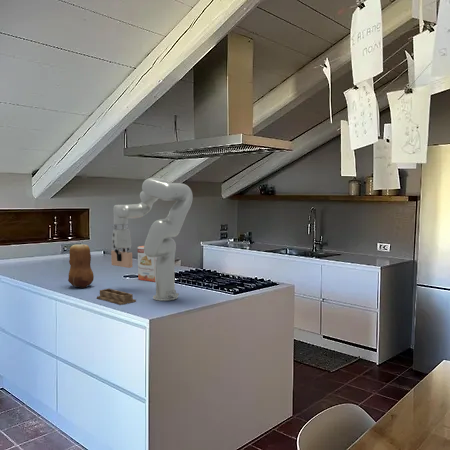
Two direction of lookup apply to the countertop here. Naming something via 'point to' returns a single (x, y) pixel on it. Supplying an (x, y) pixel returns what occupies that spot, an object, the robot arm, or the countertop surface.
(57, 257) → the countertop surface
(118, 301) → the slot rack
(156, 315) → the countertop surface
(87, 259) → the butternut squash
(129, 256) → the clay strip
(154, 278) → the cracker box
